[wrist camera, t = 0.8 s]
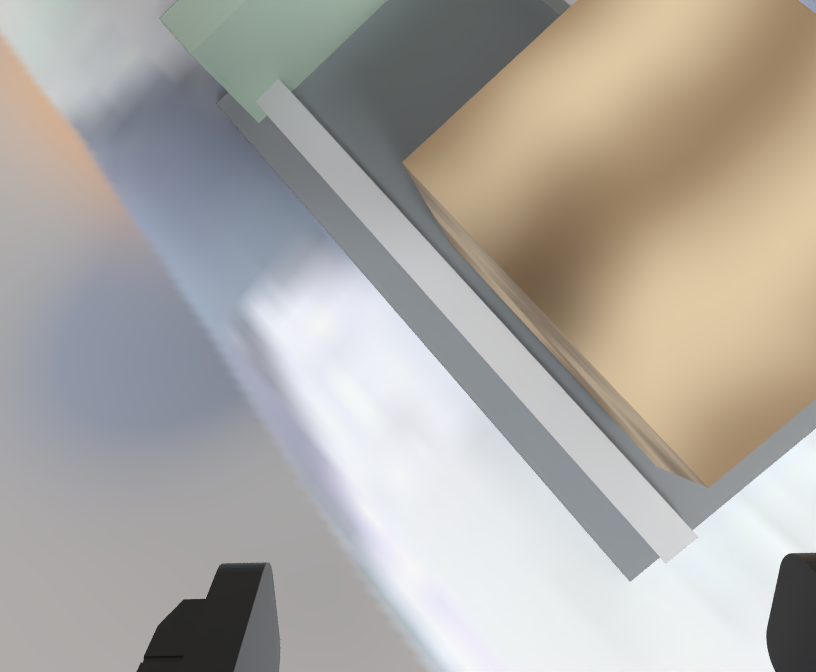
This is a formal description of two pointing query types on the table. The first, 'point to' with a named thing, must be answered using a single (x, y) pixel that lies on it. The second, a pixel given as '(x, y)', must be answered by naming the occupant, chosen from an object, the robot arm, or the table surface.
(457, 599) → the table surface
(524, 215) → the wood grain cube
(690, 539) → the roller track
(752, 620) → the table surface
